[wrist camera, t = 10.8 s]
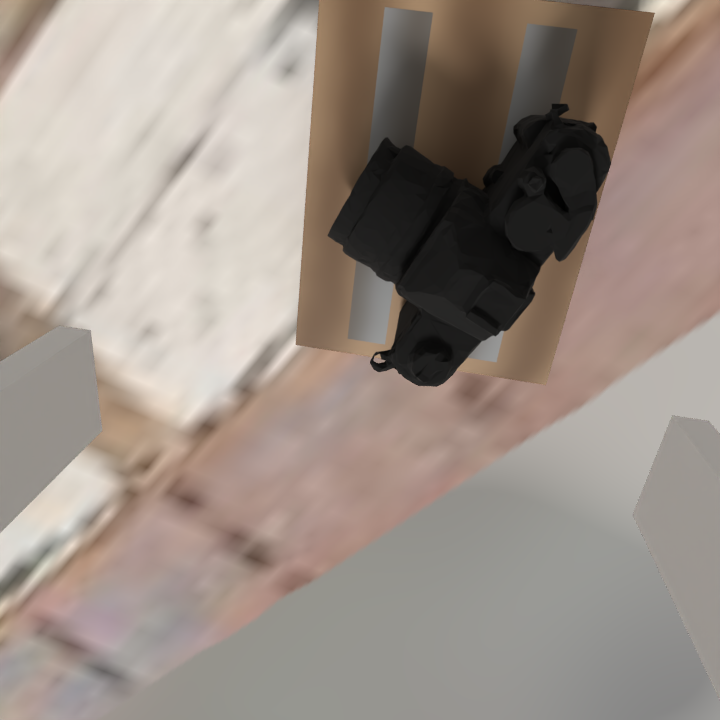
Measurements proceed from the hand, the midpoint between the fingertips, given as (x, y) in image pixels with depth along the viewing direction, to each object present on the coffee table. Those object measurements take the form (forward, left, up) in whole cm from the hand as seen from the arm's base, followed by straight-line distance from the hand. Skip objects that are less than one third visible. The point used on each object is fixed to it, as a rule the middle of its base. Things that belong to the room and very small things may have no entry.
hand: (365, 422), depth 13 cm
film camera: (+2, +1, -22) cm, 22 cm away
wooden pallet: (+2, +2, -24) cm, 25 cm away
